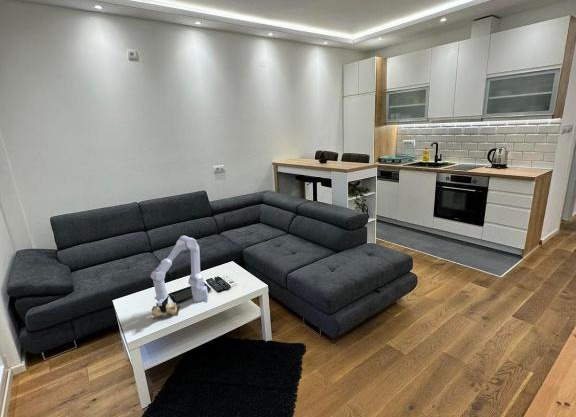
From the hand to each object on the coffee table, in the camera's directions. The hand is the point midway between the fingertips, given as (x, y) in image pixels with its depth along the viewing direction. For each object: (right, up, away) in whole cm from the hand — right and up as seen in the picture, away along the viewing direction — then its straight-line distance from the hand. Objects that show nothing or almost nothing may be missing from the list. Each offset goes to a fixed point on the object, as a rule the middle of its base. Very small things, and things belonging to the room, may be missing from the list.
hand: (164, 310), depth 180 cm
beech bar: (0, -1, 0) cm, 1 cm away
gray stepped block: (0, -4, +1) cm, 4 cm away
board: (0, -3, +4) cm, 6 cm away
